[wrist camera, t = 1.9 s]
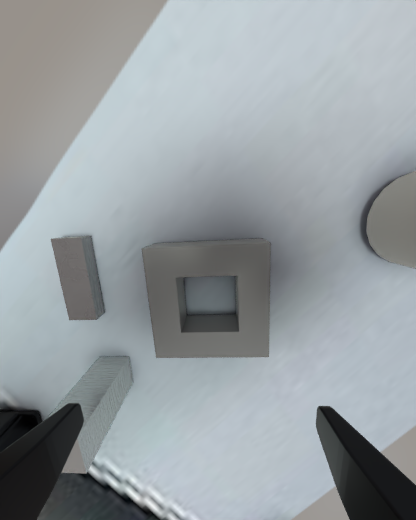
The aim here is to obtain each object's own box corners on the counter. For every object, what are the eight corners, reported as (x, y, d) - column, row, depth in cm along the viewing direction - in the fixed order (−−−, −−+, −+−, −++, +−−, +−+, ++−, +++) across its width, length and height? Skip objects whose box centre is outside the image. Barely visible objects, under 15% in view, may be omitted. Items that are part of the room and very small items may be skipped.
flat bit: (107, 310, 21) (96, 319, 19) (81, 311, 21) (69, 320, 19) (93, 235, 19) (80, 237, 17) (66, 236, 19) (50, 238, 17)
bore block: (261, 336, 20) (268, 357, 17) (165, 337, 20) (156, 357, 17) (262, 238, 17) (270, 242, 15) (154, 243, 18) (141, 248, 15)
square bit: (133, 382, 22) (86, 473, 14) (104, 382, 22) (42, 471, 14) (129, 356, 21) (76, 437, 13) (99, 356, 21) (31, 436, 14)
